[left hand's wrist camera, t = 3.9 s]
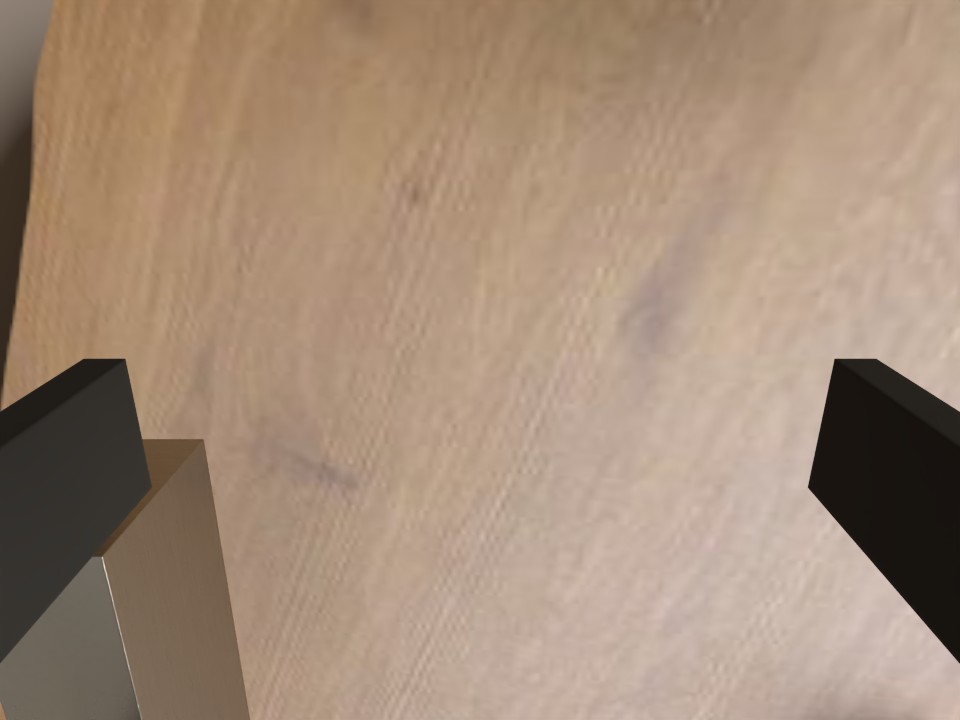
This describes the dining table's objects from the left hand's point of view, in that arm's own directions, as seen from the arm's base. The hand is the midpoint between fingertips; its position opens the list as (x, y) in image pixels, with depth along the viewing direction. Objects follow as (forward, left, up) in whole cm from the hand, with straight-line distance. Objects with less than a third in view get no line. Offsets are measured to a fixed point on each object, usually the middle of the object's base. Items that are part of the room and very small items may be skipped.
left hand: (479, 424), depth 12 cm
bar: (+27, -4, -18) cm, 33 cm away
